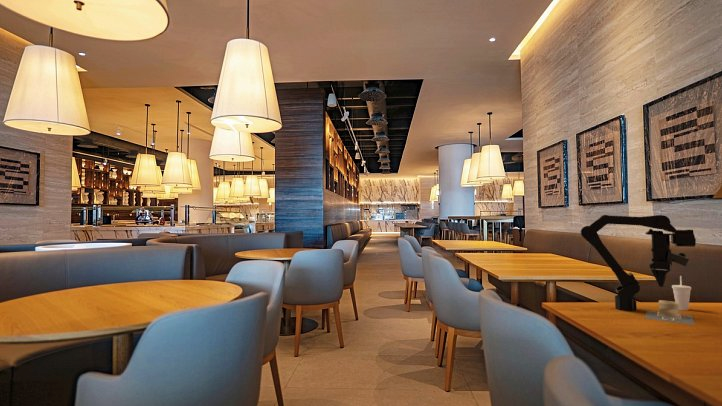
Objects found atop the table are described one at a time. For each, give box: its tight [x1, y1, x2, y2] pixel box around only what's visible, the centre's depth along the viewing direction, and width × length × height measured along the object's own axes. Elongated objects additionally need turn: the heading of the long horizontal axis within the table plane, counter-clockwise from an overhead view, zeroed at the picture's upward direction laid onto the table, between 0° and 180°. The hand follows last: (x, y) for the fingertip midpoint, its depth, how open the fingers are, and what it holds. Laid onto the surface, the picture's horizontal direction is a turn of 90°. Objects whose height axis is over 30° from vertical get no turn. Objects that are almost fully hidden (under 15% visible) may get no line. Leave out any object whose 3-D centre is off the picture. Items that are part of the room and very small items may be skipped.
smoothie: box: [671, 275, 692, 311], centre depth 157 cm, size 6×6×14 cm
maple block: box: [658, 299, 680, 318], centre depth 144 cm, size 6×6×5 cm
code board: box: [644, 310, 695, 326], centre depth 141 cm, size 14×15×1 cm
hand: (662, 285), depth 148 cm, fingers open, 9 cm apart
